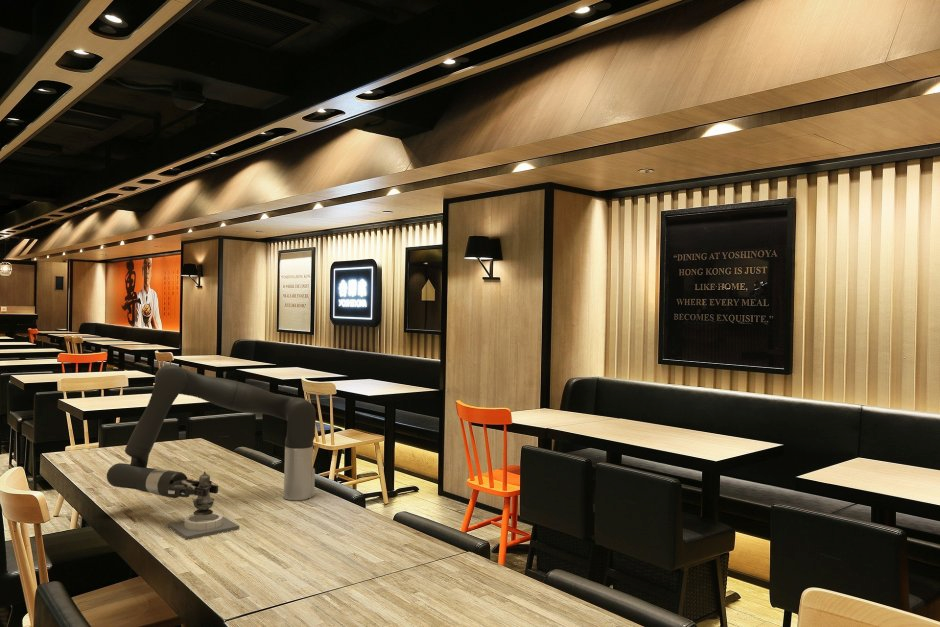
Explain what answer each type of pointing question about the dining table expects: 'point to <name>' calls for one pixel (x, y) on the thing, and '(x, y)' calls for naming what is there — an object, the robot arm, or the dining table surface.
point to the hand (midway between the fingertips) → (211, 491)
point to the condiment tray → (203, 532)
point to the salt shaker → (204, 502)
